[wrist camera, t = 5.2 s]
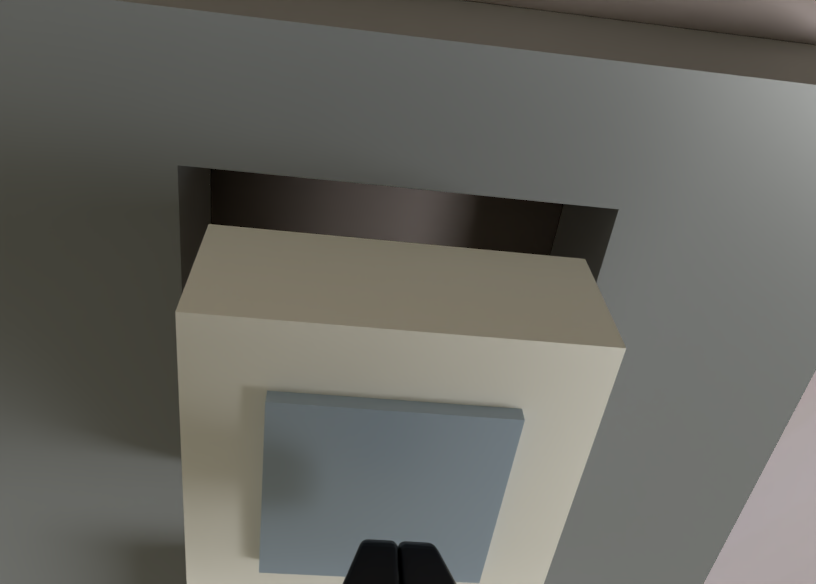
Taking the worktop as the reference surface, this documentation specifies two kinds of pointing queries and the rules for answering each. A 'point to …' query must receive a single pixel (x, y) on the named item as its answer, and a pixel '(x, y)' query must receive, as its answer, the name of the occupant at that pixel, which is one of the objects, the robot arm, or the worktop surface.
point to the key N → (383, 404)
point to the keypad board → (406, 168)
